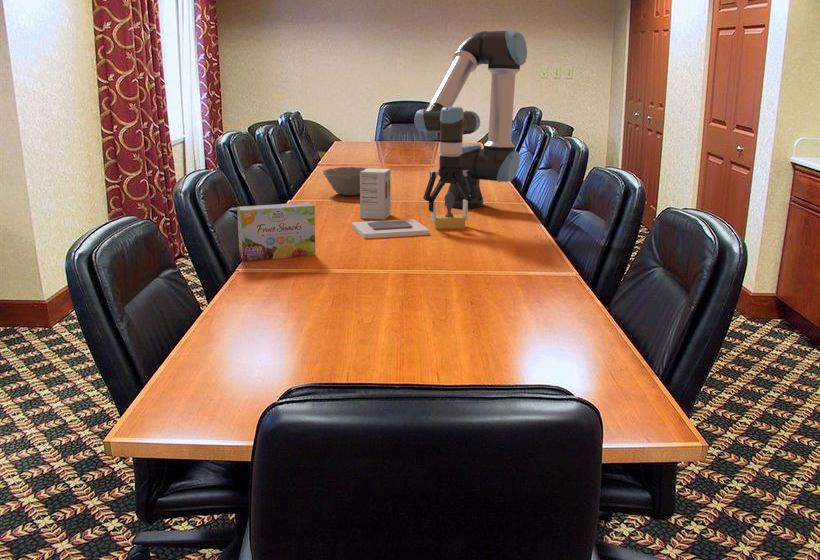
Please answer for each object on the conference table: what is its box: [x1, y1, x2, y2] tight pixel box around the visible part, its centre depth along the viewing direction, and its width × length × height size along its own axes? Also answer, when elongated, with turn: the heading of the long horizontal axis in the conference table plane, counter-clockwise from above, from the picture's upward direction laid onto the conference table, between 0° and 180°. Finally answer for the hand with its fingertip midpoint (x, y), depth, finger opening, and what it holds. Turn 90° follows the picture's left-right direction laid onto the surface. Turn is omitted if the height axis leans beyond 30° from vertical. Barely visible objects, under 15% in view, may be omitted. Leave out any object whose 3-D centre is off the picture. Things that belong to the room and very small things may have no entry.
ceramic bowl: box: [322, 166, 370, 196], centre depth 313 cm, size 22×23×10 cm
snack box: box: [236, 202, 316, 262], centre depth 215 cm, size 21×6×15 cm, turn 114°
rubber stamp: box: [433, 192, 466, 230], centre depth 254 cm, size 10×6×12 cm, turn 97°
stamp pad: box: [350, 218, 430, 240], centre depth 250 cm, size 22×18×2 cm
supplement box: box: [359, 168, 392, 221], centre depth 269 cm, size 10×9×17 cm
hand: (449, 220), depth 255 cm, fingers closed on rubber stamp, 11 cm apart
